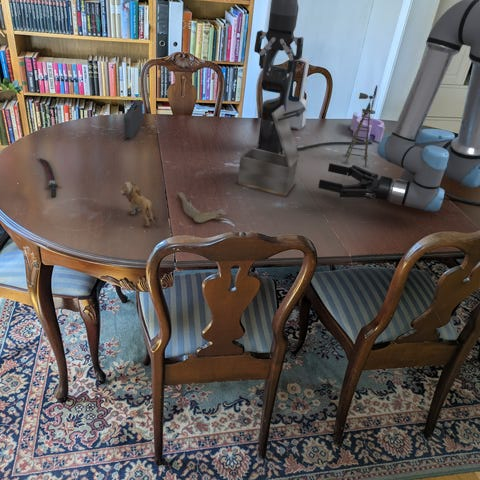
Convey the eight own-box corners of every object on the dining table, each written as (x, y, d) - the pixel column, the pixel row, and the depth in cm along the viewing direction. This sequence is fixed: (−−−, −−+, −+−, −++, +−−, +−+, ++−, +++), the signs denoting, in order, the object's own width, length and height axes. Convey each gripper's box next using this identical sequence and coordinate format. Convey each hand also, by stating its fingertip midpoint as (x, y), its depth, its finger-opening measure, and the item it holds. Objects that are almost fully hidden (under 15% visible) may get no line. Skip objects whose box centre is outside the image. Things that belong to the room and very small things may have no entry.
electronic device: (304, 126, 217) (316, 59, 201) (301, 131, 211) (313, 62, 195) (279, 121, 220) (288, 54, 204) (275, 125, 214) (284, 57, 198)
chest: (237, 183, 160) (240, 156, 155) (248, 173, 168) (250, 147, 163) (285, 196, 156) (289, 168, 150) (293, 184, 164) (298, 158, 158)
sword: (61, 197, 141) (61, 193, 140) (50, 198, 139) (50, 194, 139) (49, 160, 164) (48, 156, 163) (39, 160, 163) (39, 157, 162)
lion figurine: (118, 210, 138) (116, 182, 133) (132, 204, 141) (131, 177, 137) (151, 229, 130) (150, 201, 126) (165, 223, 134) (165, 195, 129)
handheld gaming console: (136, 121, 202) (136, 98, 197) (143, 121, 202) (142, 98, 197) (123, 140, 183) (122, 115, 178) (130, 141, 183) (130, 116, 178)
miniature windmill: (366, 166, 183) (386, 89, 167) (344, 163, 184) (362, 86, 168) (365, 158, 191) (384, 83, 175) (345, 154, 192) (362, 80, 176)
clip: (343, 126, 223) (346, 112, 219) (367, 127, 225) (371, 113, 221) (360, 142, 206) (364, 127, 202) (386, 142, 209) (390, 127, 205)
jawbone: (206, 230, 134) (206, 224, 132) (158, 205, 144) (157, 199, 143) (227, 217, 139) (227, 212, 138) (179, 194, 150) (179, 188, 148)
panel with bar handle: (271, 113, 144) (295, 106, 140) (281, 105, 152) (304, 98, 148) (288, 167, 150) (312, 162, 146) (297, 157, 158) (319, 152, 154)
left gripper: (255, 9, 132) (249, 69, 141) (303, 17, 128) (294, 77, 137) (264, 7, 138) (257, 64, 147) (310, 14, 134) (301, 72, 143)
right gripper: (382, 218, 138) (312, 202, 144) (391, 184, 158) (330, 170, 164) (388, 196, 134) (316, 180, 140) (397, 164, 154) (334, 150, 160)
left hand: (275, 70), depth 142 cm, fingers open, 8 cm apart
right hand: (324, 175), depth 152 cm, fingers open, 13 cm apart
